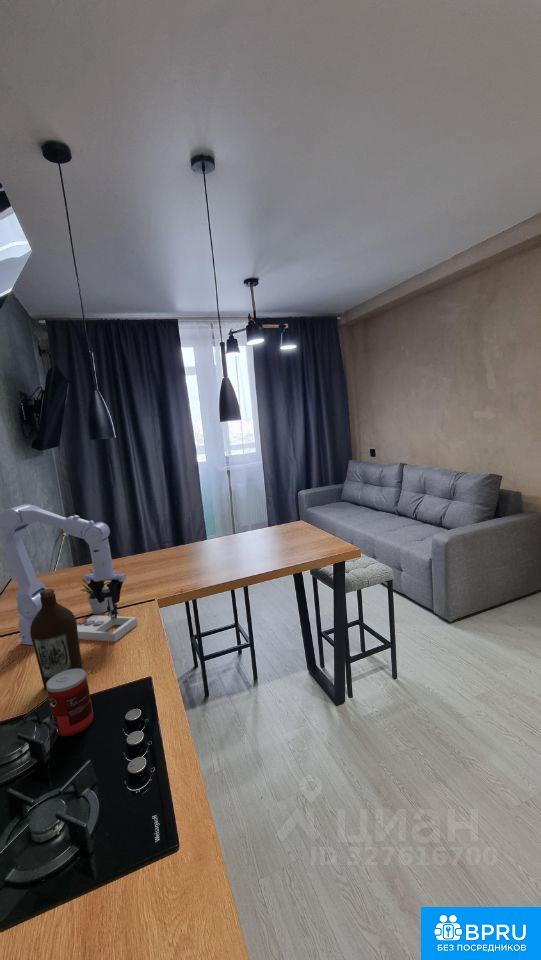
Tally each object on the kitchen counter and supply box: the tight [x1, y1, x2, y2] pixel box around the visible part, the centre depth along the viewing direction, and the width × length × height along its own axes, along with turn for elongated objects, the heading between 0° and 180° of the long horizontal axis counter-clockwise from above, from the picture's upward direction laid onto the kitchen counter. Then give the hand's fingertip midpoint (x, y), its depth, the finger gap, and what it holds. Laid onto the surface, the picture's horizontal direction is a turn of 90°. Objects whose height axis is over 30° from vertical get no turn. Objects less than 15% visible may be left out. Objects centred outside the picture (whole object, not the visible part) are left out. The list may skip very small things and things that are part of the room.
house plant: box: [76, 567, 116, 615], centre depth 153 cm, size 14×14×16 cm
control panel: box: [77, 614, 138, 642], centre depth 137 cm, size 18×11×3 cm, turn 71°
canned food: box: [46, 668, 94, 737], centre depth 92 cm, size 8×8×11 cm
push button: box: [100, 585, 120, 620], centre depth 135 cm, size 7×5×10 cm
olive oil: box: [30, 588, 84, 692], centre depth 108 cm, size 11×11×25 cm
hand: (109, 602), depth 135 cm, fingers closed on push button, 5 cm apart
